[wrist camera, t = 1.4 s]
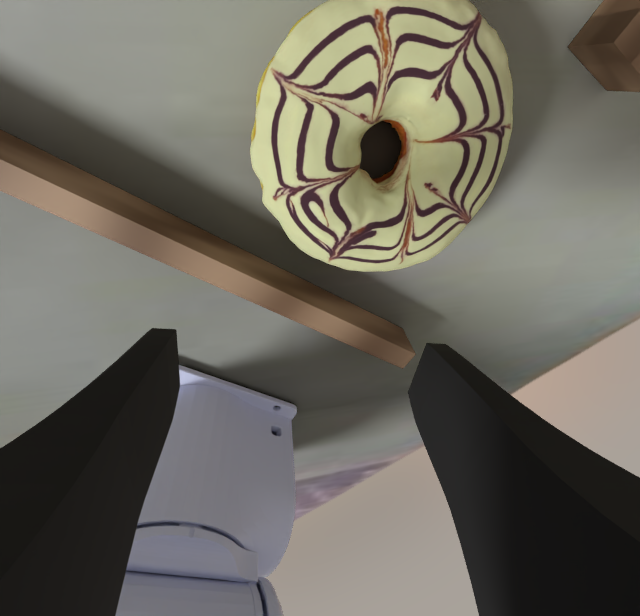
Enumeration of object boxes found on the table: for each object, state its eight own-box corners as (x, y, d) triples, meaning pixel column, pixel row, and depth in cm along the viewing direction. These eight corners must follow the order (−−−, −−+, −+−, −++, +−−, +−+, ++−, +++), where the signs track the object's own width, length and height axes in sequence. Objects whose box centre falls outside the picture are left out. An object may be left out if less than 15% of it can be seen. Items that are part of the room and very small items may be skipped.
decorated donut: (292, 271, 20) (295, 308, 17) (218, 35, 14) (202, 24, 11) (478, 223, 20) (517, 252, 17) (481, -40, 14) (543, -74, 11)
